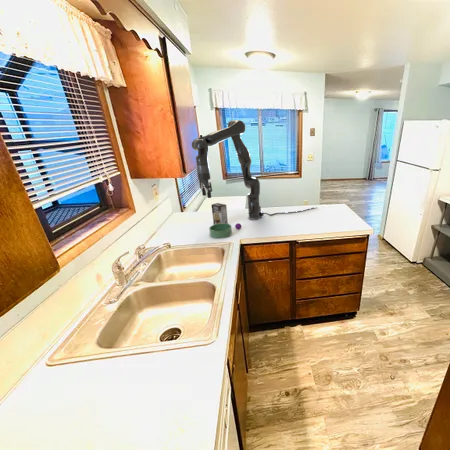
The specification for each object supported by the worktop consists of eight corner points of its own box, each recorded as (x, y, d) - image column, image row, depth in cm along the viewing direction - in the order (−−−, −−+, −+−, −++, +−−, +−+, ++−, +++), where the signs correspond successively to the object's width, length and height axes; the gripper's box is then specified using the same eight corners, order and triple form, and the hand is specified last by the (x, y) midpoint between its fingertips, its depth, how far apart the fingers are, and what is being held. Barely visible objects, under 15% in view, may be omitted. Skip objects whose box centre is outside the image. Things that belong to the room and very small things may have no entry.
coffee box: (213, 225, 180) (210, 204, 174) (219, 222, 186) (217, 202, 180) (222, 227, 176) (220, 206, 171) (228, 224, 182) (226, 204, 176)
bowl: (224, 229, 173) (224, 222, 171) (236, 234, 164) (235, 226, 162) (206, 234, 163) (205, 227, 161) (217, 240, 154) (216, 232, 152)
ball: (239, 227, 176) (238, 222, 175) (242, 229, 173) (242, 223, 172) (234, 229, 173) (233, 223, 171) (237, 230, 170) (237, 225, 169)
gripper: (213, 172, 150) (216, 197, 156) (205, 170, 160) (208, 193, 166) (202, 174, 146) (205, 199, 152) (193, 171, 156) (197, 195, 161)
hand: (206, 196), depth 159 cm, fingers open, 8 cm apart
